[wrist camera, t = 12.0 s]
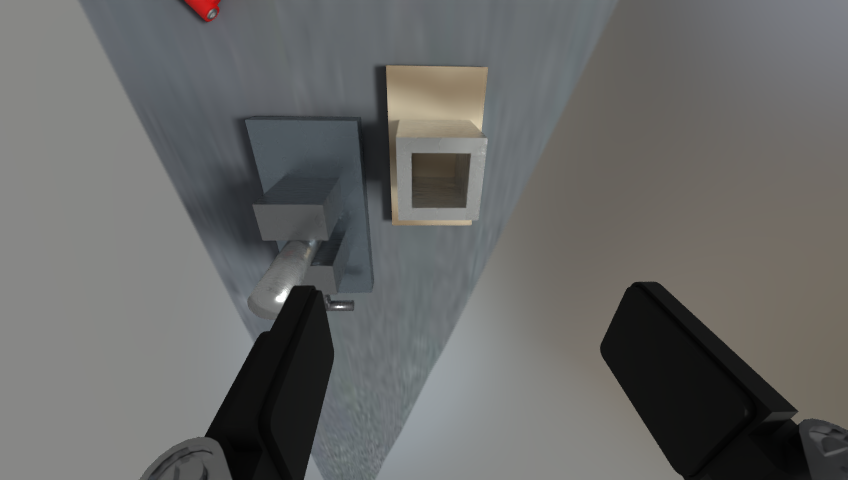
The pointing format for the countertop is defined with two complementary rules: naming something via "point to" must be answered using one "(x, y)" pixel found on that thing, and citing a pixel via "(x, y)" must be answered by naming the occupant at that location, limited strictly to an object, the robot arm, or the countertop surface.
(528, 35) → the countertop surface
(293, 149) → the grey peg stand
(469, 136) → the white hollow square block
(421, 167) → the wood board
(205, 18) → the tow hook
